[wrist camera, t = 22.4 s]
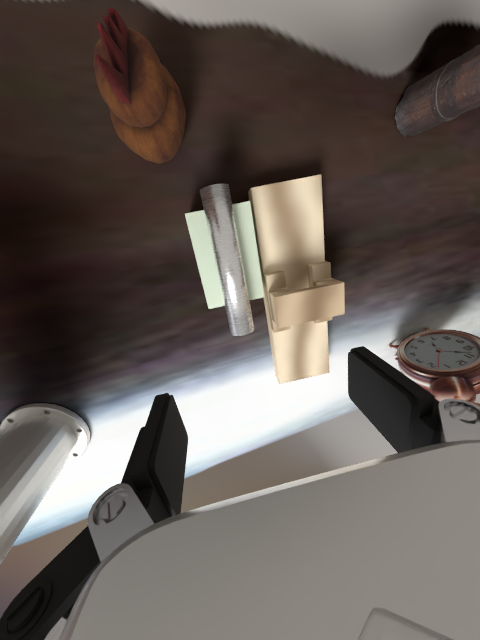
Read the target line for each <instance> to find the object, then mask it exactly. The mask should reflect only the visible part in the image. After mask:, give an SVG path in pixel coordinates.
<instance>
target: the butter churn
mask: <svg viewBox="0 0 480 640" xmlns="http://www.w3.org/2000/svg"><path fill="white" fill-rule="evenodd" d="M479 106H480V44H479V45H477V46H476V47H474V48H472V49H471V50H470V51H468V52H466V53H464V54H463V55H461V56H460V57H457V58H456V59H454V60H452V61H450V62H449V63H448V64H446V65H444V66H443V67H441V68H439V69H437V70H436V71H434V72H432V73H431V74H429V75H427V76H426V77H424V78H422V79H421V80H419V81H417V82H416V83H414V84H412V85H411V86H409V87H408V88H407V89H406V91H405V92H404V96H403V99H402V100H401V101H400V103H399V104H398V105H397V108H396V115H395V120H396V125H397V128H398V129H399V131H400V133H401V134H403V135H404V136H408V135H409V136H414V135H417V134H420V133H422V132H424V131H427V130H429V129H431V128H433V127H435V126H437V125H439V124H442V123H443V122H448V121H450V120H452V119H454V118H456V117H458V116H459V115H460V114H463V113H464V112H467V111H469V110H471V109H474V108H477V107H479Z"/></svg>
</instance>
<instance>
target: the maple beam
mask: <svg viewBox="0 0 480 640" xmlns="http://www.w3.org/2000/svg"><path fill="white" fill-rule="evenodd" d="M248 197H249V201H250V204H251V211H252V217H253V224H254V231H255V237H256V244H257V251H258V257H259V264H260V271H261V277H262V284H263V291H264V303H265V309H266V316H267V323H268V329H269V336H270V343H271V349H272V356H273V362H274V369H275V375H276V377H277V380H278V382H279V384H282V383H286V382H291V381H295V380H299V379H304V378H308V377H312V376H316V375H321V374H325V373H329V351H328V326H327V321H329V320H332V317H333V316H337V315H342V314H344V282H342V281H339V280H336V279H333V278H331V264H330V262H327V261H325V253H324V229H323V204H322V180H321V175H315V176H310V177H305V178H300V179H295V180H289V181H284V182H279V183H274V184H269V185H263V186H258V187H253V188H251V189H250V190H249V191H248Z"/></svg>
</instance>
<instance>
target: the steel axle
mask: <svg viewBox="0 0 480 640" xmlns="http://www.w3.org/2000/svg"><path fill="white" fill-rule="evenodd" d="M200 195H201V199H202V204H203V208H204V213H205V217H206V222H207V226H208V231H209V235H210V240H211V245H212V249H213V254H214V258H215V263H216V267H217V272H218V276H219V281H220V285H221V290H222V294H223V299H224V303H225V308H226V313H227V317H228V322H229V326H230V331H231V334H232V335H234V336H243V335H247V334H249V333H251V332H253V331H254V324H253V318H252V313H251V307H250V301H249V296H248V290H247V285H246V279H245V274H244V268H243V262H242V257H241V251H240V246H239V240H238V235H237V229H236V223H235V218H234V212H233V207H232V201H231V196H230V190H229V185H228V184H214V185H210V186H207V187H204V188H202V189H200Z"/></svg>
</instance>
